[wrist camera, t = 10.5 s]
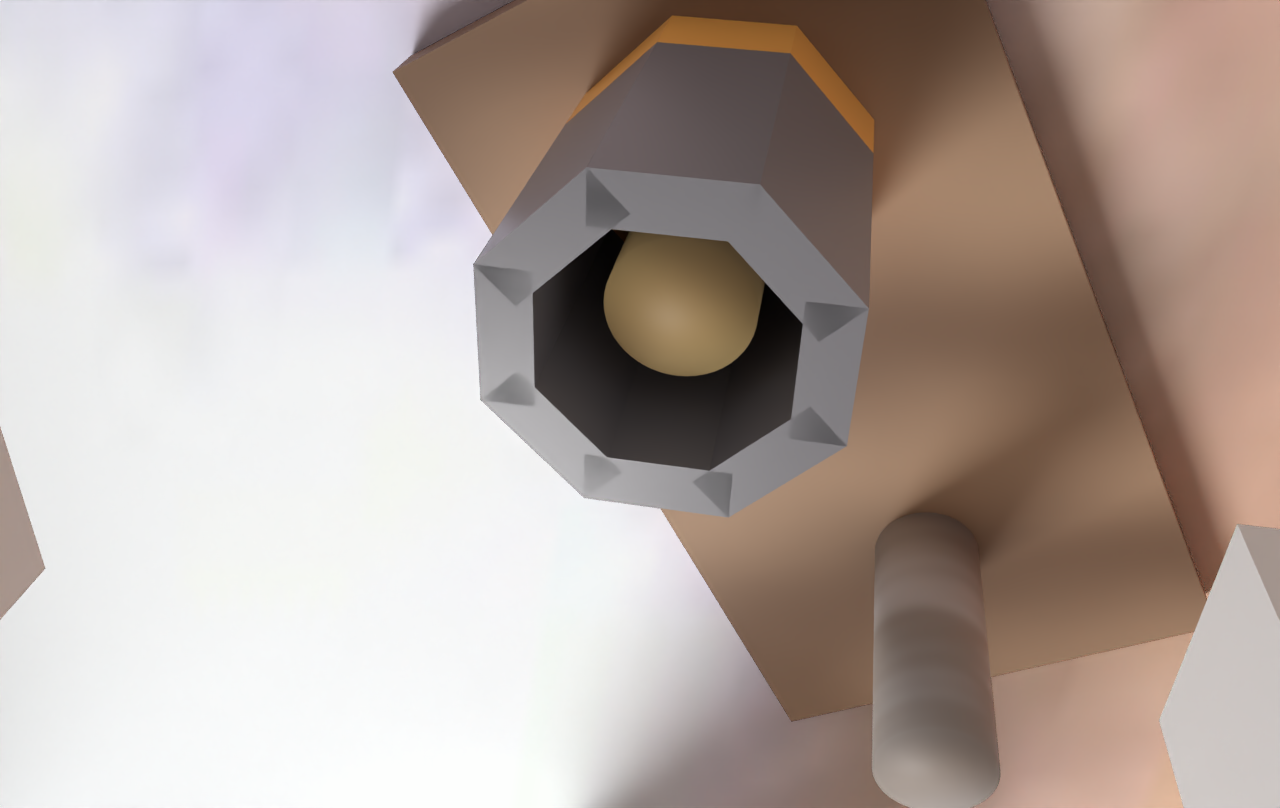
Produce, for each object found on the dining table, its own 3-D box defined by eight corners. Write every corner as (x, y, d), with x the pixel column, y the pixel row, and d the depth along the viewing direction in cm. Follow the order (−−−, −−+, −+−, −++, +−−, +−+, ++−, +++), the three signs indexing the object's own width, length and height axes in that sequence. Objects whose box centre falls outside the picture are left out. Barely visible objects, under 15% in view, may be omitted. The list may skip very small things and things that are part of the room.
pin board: (1205, 595, 26) (1295, 867, 20) (794, 691, 30) (771, 942, 24) (907, -211, 19) (916, -142, 13) (410, 55, 23) (247, 200, 17)
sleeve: (586, 8, 20) (467, 155, 15) (887, 32, 20) (887, 197, 14) (584, 274, 23) (484, 484, 18) (847, 303, 23) (833, 532, 17)
